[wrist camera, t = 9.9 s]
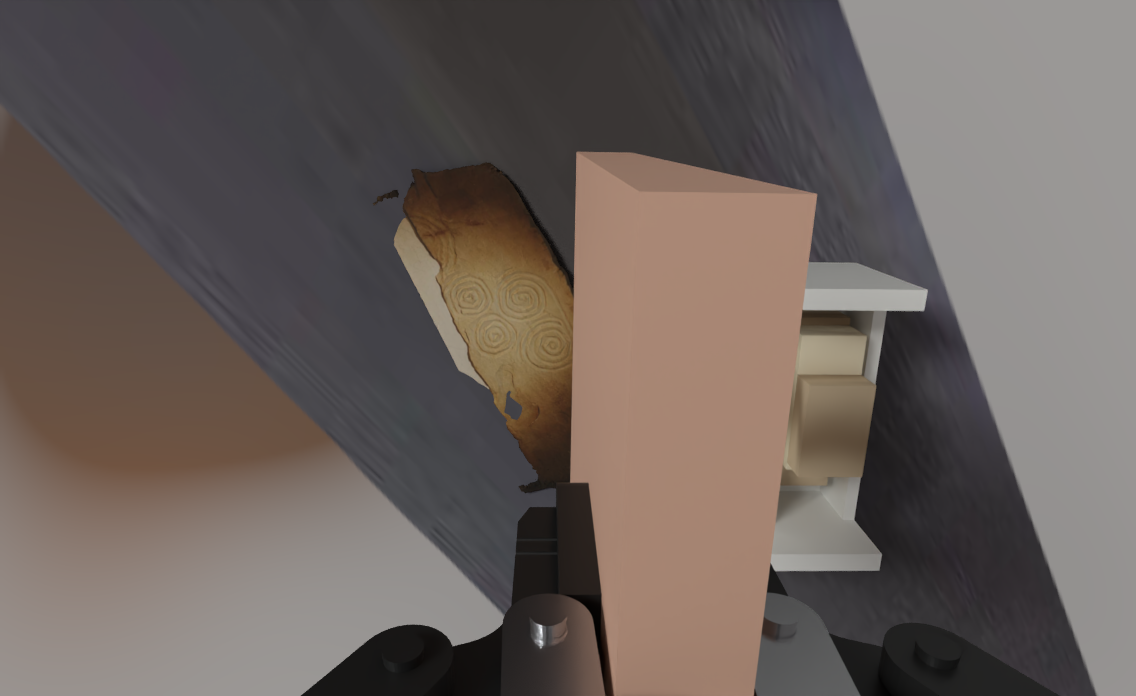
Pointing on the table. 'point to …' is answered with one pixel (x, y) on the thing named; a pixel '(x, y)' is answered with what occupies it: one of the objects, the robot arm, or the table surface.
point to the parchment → (496, 302)
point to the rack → (826, 513)
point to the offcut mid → (826, 357)
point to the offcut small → (830, 425)
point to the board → (683, 410)
